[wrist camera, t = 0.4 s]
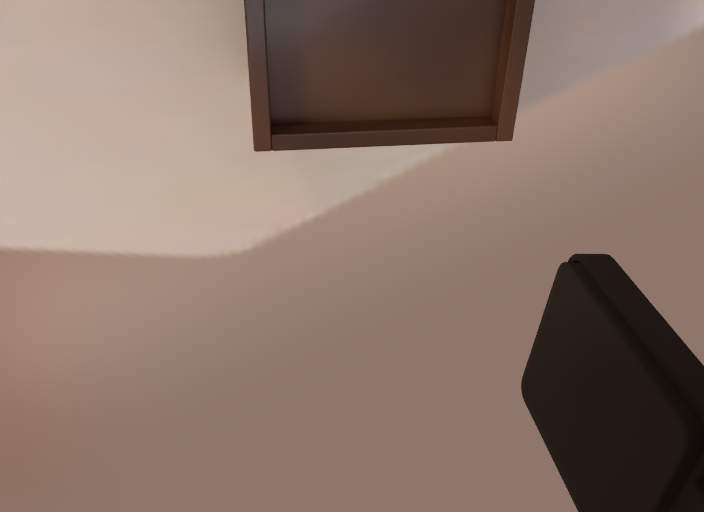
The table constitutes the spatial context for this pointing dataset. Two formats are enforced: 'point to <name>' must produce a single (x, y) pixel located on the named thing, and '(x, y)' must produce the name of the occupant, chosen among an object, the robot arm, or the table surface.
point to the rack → (384, 71)
